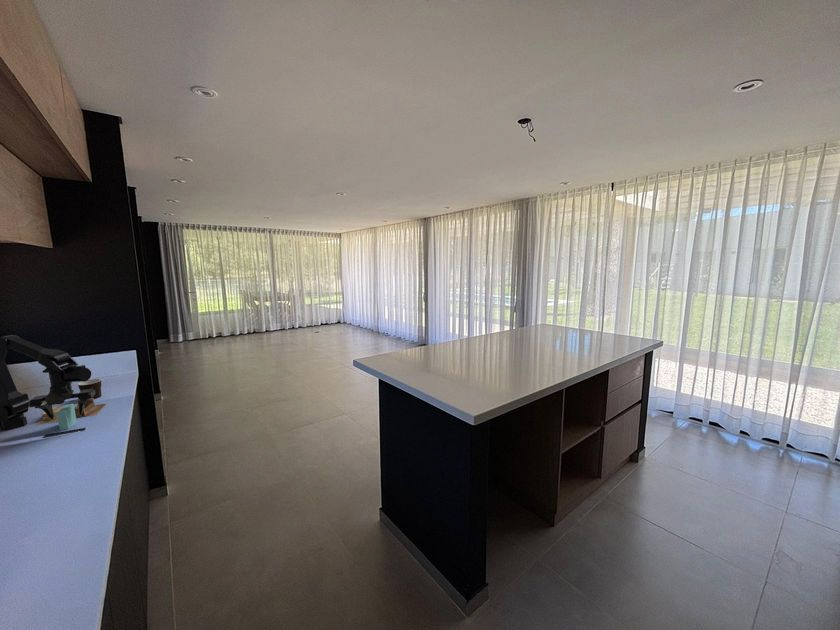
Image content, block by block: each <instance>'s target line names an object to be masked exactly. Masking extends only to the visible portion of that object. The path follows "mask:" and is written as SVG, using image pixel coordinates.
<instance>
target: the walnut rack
mask: <svg viewBox="0 0 840 630" xmlns="http://www.w3.org/2000/svg"><path fill="white" fill-rule="evenodd" d="M94 400H95V399H93V398H91V399H88V400H87V402H86V404H85V407H84V410H83V413H82V414H81V415H80V412H79V403H78V402H77V401H76V404H77V405H76V406H74V409H75V415H76V419H81V418H87V417H93V416H94V417H95V416H97V415H98V414H99V413H100V412H101V410H103V409H104V408H105V406H106V405H107V404H108V403H107V402H106V403H100V404H95V401H94ZM56 422H59V421H58V419H52V420H46V421H43V417H41V419H40V420H39V421H37V422H36V423H35V424H34V426H38V425H44V424H50V423H51V424H52V423H56Z"/></svg>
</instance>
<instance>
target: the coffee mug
mask: <svg viewBox="0 0 840 630" xmlns="http://www.w3.org/2000/svg"><path fill="white" fill-rule="evenodd" d="M77 385H78V389H79V393H80V392H81V391H82V390H86V389H94V390H95V393H96V394H95V395H94V396H93V397H92V398H93V399H94V400H95V399H99V398H101V397H102V378H90V379H89V380H88V381H85V382H77ZM90 399H91V398H90Z"/></svg>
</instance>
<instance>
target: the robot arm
mask: <svg viewBox="0 0 840 630" xmlns="http://www.w3.org/2000/svg"><path fill="white" fill-rule="evenodd" d="M7 349H11V350H12V351H16V352H18V353H21V354H23V355H25V356H28V357H30V358H33V359H35V360H36V361H37V363H38V364H39V365H41V366H43V367H44V370H42V371H41V373H42V374H45V373H46V374H48V377H49V378H48V379H49V383H50V386H49V392H48V394H41V395H36V396H35V397H33V398H31V399H30V398H29V395H28V394H27V393H26V392H25V393H22V392H20V391H18V389H17V387H16V384H15V382H14V380H13V377H12V374H11V371H10V370H9V368H8V364H7V362H6V360H5V358H6V355H7V353H8V350H7ZM91 377H92V371H91V370H90V368H88V367H86V365H85V364H82V365H81V364H80V365H79V363H78V362H77V361H76V360H75V359H74V358H72V356H71V355H70V354H69V353H68V352H67V351H65V350H64V351H63V350H61V349H53V348H47V347H43V346H41V345H38V344H37V343H35V342H34V343H33V342H31V341H29V340H27V339H24V338H21V337H20V336H19V335H16V334H10V335H5V336H1V337H0V431H12V430H16V429H18V428H19V429H20V428H23V427H25V426H27V424H28V419H27V416H25V413H28V412H29V408H34V409H39V410H42V411H43V413H44V412H45V413H46V414H47V415H48V416H49V417H50V418H51V419H53V418H54V414H53V409H52V408H53V406H55V405H62V404H64V403H65V401H66V400H71V399H77V400H76V403H77V402H78V403H79V412H80V415H81V414H82V413H83V410H84V407H85V404H86V402H87V400H88V399H90V398H92V397H93V396H94V395H95V394H96V393H95V390H94V389H86V390H82V391H81V392H80V391H79V392H76V393H74V389H73V388H72V383H74V382H75V383H80V382H85V381H88V380H91Z"/></svg>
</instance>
